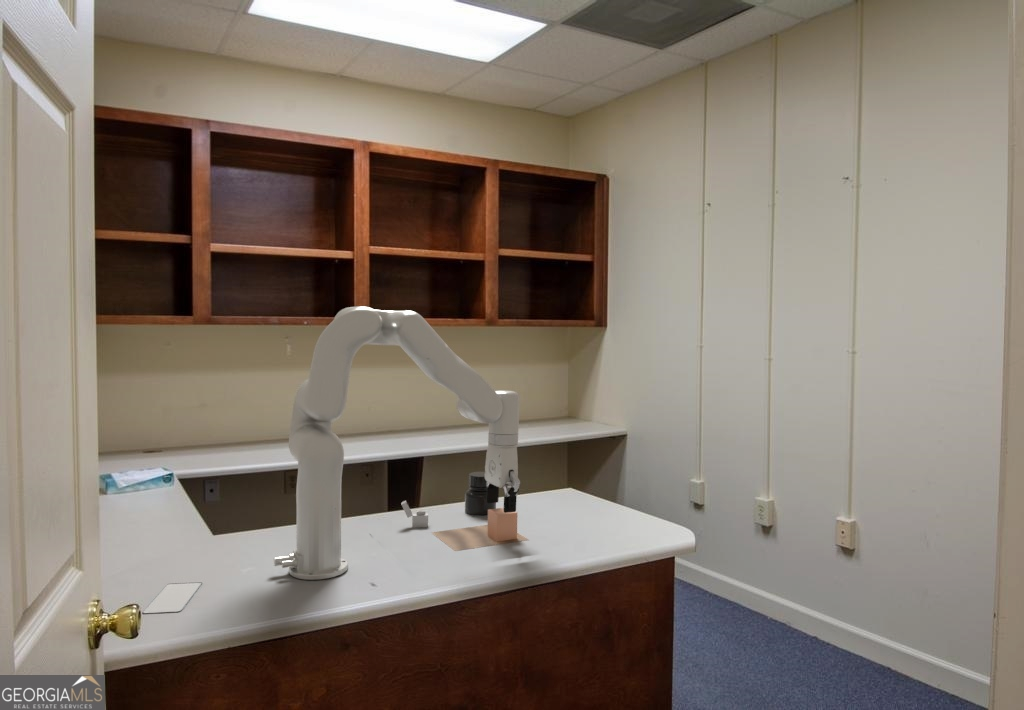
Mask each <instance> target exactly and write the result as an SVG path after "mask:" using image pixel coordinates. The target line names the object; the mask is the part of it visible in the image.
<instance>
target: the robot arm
mask: <svg viewBox="0 0 1024 710" xmlns="http://www.w3.org/2000/svg"><path fill="white" fill-rule="evenodd" d="M364 345H376V346H377V345H378V346H399V347H400V348H401V349H402V350H403V352H405V354H406V355H407V356H408V357H409V358H410V359H411V360H412V361H413V362H414V363H415V364H416V366H417V367H418V369H420V370H421V371H422V372H423V373H424V374H425V376H426V377H428V379H430V381H431V380H432V381H433V382H434V383H436V384H437V385H440V386H442V387H443V388H445V389H447V390H448V391H450V392H451V393H452V394H454V395H455V396H457V397H458V398H457V400H456V409H457V411H458V413H459V414H460V415H461V416H462V417H463V418H466V419H467V420H471V421H473V422H478V423H480V424H486V425H488V433H487V434H488V437H487V439H488V440H487V441H488V442H487V450H486V455H485V465H484V472H485V480H486V481H487V483H486V486H487V487H488V488H487V500H486V502H487V503H496V504H497V503H499V498H500V497H499V496H500V495H499V494H500V493H499V491H500V488H503V490H504V491H503V492H504V496H503V508H504V512H505V513H508V512H517V496H518V493H519V488H520V484H521V480H520V479H519V477H518V476H519V474H518V473H519V471H518V470H519V464H518V463H519V462H518V461H519V460H518V446H519V428H520V427H519V423H520V420H519V419H520V395H519V393H518V392H516V391H514V390H501V389H499V390H494V389H493V388H492V386H491V385H490V384H489V383H488V382H487V381H486V379H485V378H484V377H483V376H481V374H479V373H478V372H477V371H476V370H475V369H474V368H472V367H471V366H470V365H469V364H468V363H467V362H466V361H464V360H463V358H461V357H459V356H458V355H457V354H456V353H455V351H453V350H452V349H451V348H450V347H449V346H448V344H447V342H445V341H444V340H443V338H442V337H441V336H440V335H439V334H438V333H437V332H436V330H435V329H434V328H433V327H432V326H431V325H430V324H429V323H428V322H427V320H426V319H425V318H424V317H423V316H422V315H421V314H420V313H418V312H416V311H413V310H385V309H384V310H381V309H374V308H372V307H369V306H363V305H361V306H350V307H349V306H348V307H345V308H342V309H340V310H339V311H338V312H337V313H336V315H335V316H334V319H333V320H332V321H330V323H329V324H328V325H327V326H326V327H325V328H324V330H323V331H322V332H321V334H320V335H319V337H318V339H317V340H316V344H315V346H314V349H313V355H312V360H311V365H310V371H309V375H308V378H307V379H305V380H304V381H303V382H302V383H301V384H300V385H299V386H298V388H297V390H296V391H295V392H296V393H295V396H294V399H293V404H292V405H293V406H292V412H291V418H290V419H291V420H290V427H289V435H288V447H289V448H288V449H289V452H290V454H291V456H292V457H293V458H294V460H296V461H297V463H298V465H297V475H296V477H297V479H296V494H295V499H296V500H295V501H296V548H293V549H292V550H293V551H292V553H288V555H284V556H283V555H281V556H274V557H273V564H274V565H273V566H274V567H278V566H281V568H282V569H285V568H288V571H289V575H290V576H292V577H293V578H296V579H299V580H307V581H308V580H309V581H310V580H311V581H315V580H316V581H318V580H325V579H326V580H327V579H330V578H335V577H338V576H340V575H342V574H344V573H346V572H347V570H348V569H349V561H347V559H345V558H343V557H342V476H343V468H344V461H345V451H344V446H343V443H342V440H341V439H340V437H338V435H337V434H336V433H334V432H333V431H332V429H333V422H335V421H336V420H338V419H339V418H340V417H342V415H343V414H344V412H345V409H346V407H347V399H348V389H349V383H350V375H351V369H352V364H353V360H354V358H355V355H356V354H357V352H359V350H360V348H362V347H363V346H364Z"/></svg>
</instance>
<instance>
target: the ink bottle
mask: <svg viewBox="0 0 1024 710" xmlns="http://www.w3.org/2000/svg"><path fill="white" fill-rule="evenodd" d="M486 483H487V481H486V480H485V471H473V472H470V473H468V487H469V488H468V490H466V491H465V493H464V513H465V514H467V515H469V516H476V517H482V516H483V517H484V516H488V510H489V509H497V503H487V502H486V500H487V488H488V487H487V486H486Z"/></svg>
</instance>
